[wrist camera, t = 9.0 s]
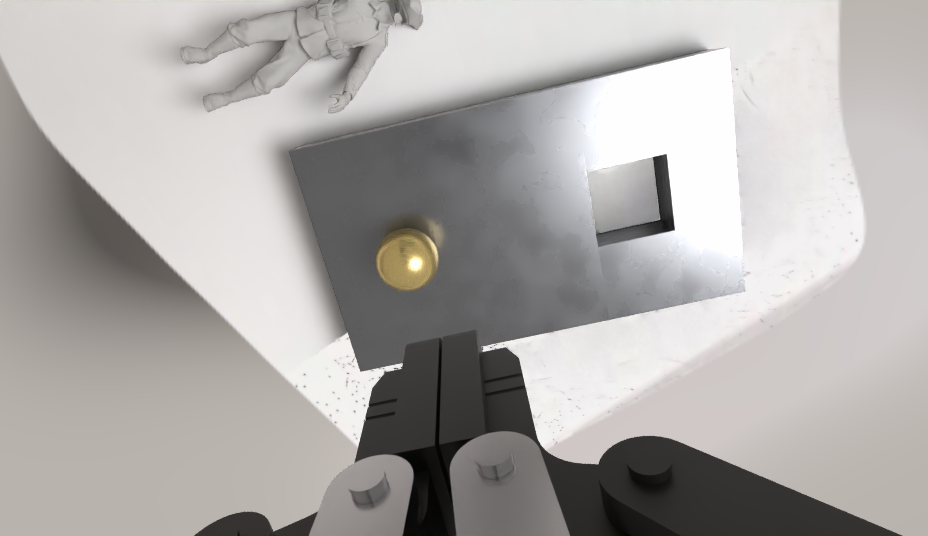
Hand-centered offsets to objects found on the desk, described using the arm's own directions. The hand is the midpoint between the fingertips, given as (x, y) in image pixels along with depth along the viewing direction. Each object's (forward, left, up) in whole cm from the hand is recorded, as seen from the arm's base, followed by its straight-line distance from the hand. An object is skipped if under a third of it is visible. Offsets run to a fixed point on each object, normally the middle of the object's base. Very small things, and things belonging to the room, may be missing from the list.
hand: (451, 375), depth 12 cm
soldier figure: (-9, -12, -22) cm, 27 cm away
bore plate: (+3, +4, -23) cm, 24 cm away
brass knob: (+3, -3, -19) cm, 20 cm away
